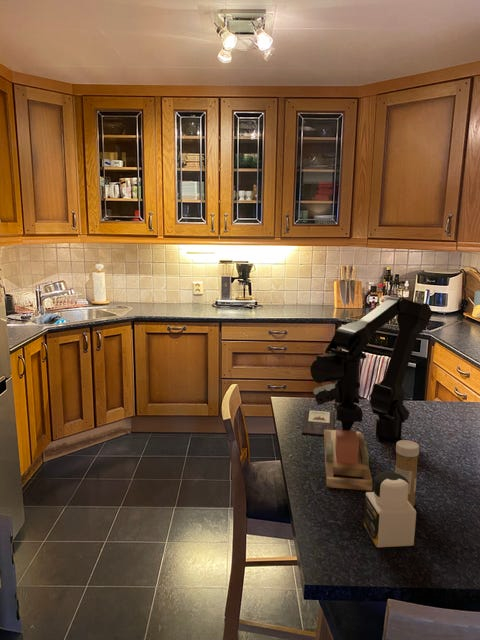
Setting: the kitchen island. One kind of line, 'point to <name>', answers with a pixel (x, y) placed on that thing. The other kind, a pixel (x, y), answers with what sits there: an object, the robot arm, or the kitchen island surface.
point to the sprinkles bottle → (407, 465)
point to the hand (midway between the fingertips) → (345, 434)
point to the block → (346, 447)
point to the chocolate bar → (317, 422)
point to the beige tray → (346, 465)
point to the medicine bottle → (390, 511)
